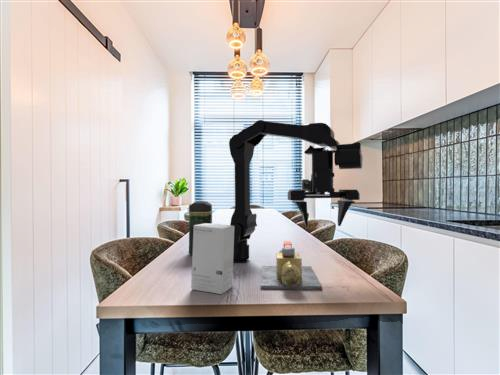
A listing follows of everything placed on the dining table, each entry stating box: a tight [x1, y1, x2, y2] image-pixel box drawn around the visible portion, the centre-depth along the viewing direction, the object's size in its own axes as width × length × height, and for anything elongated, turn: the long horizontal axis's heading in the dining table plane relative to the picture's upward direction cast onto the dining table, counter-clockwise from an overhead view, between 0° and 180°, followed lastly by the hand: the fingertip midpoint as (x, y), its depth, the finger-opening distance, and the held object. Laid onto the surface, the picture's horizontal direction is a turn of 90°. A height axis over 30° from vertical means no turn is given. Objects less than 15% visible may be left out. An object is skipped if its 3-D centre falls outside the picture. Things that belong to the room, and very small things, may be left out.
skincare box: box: [190, 222, 234, 295], centre depth 66 cm, size 8×6×15 cm
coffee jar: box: [188, 200, 213, 256], centre depth 100 cm, size 10×8×19 cm
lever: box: [281, 240, 296, 256], centre depth 77 cm, size 12×3×2 cm, turn 174°
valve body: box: [260, 249, 323, 291], centre depth 73 cm, size 18×14×6 cm
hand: (322, 226), depth 79 cm, fingers open, 9 cm apart
